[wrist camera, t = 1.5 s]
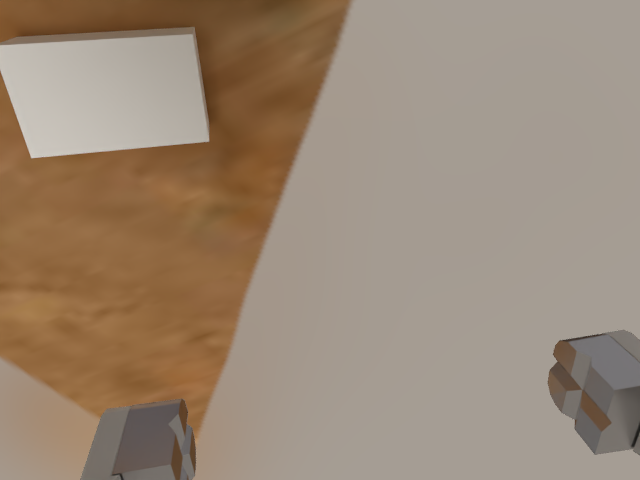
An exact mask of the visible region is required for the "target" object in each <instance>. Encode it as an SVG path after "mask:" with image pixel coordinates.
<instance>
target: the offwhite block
mask: <svg viewBox="0 0 640 480" xmlns="http://www.w3.org/2000/svg"><path fill="white" fill-rule="evenodd" d="M0 71H1V74H2V76H3V79H4V82H5V85H6V88H7V91H8V93H9V96H10V99H11V102H12V105H13V108H14V110H15V113H16V116H17V119H18V122H19V124H20V127H21V130H22V133H23V136H24V139H25V141H26V144H27V147H28V150H29V153H30V155H31V158H38V157H49V156H60V155H71V154H81V153H92V152H103V151H113V150H124V149H135V148H146V147H156V146H167V145H178V144H189V143H199V142H209V119H208V113H207V106H206V99H205V93H204V86H203V79H202V73H201V66H200V60H199V53H198V46H197V40H196V33H195V27H183V28H165V29H147V30H129V31H112V32H94V33H76V34H58V35H40V36H23V37H15V38H12V39H9V40H7V41H4V42H1V43H0Z"/></svg>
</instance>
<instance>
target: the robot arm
mask: <svg viewBox="0 0 640 480" xmlns="http://www.w3.org/2000/svg"><path fill="white" fill-rule="evenodd" d="M553 355H554V357H555V358H556V360H557V361H558V362H557V363H556V364H555V365H554V366H553V367H552V368H551V369H550V371H549V377H548V386H549V390H550V395H551V397H552V399H553V401H554V403H555V405H556V406H557V407H558V408H559V410H560V411H561V412H562V413H563V414H565V415H567V416H569V417H571V418H572V419H574V420H575V430H576V431H577V433H578V434H579V435H580V437H581V438H582V439H583V440H584V441H585V443H586V444H587V445H588V447H589V448H590V449H591V450H592V452H593V453H594V454H595V455H596V454H603V453H609V452H616V451H622V450H629V449H634V450H633V451H634V452H635V453H637V454H638V455H640V340H639V339H638V338H637V337H636V336H635V335H633V334H632V333H630V332H628V331H625V330H620V331H614V332H608V333H602V334H597V335H590V336H584V337H578V338H572V339H566V340H560V341H559V342H558V343H557V344H556V345H555V349H554V353H553ZM187 417H188V410H187V407H186V403H185V400H183V399H175V400H167V401H160V402H152V403H144V404H137V405H132V406H126V407H118V408H109V409H106V410H105V412H104V413H103V414H102V416H101V419H100V422H99V425H98V428H97V431H96V434H95V437H94V440H93V443H92V446H91V449H90V452H89V455H88V458H87V461H86V464H85V467H84V470H83V473H82V476H81V479H80V480H192V479H193V477H194V476H195V470H196V446H195V439H194V434H193V429H192V427H190V426H189V425H187Z"/></svg>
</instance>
